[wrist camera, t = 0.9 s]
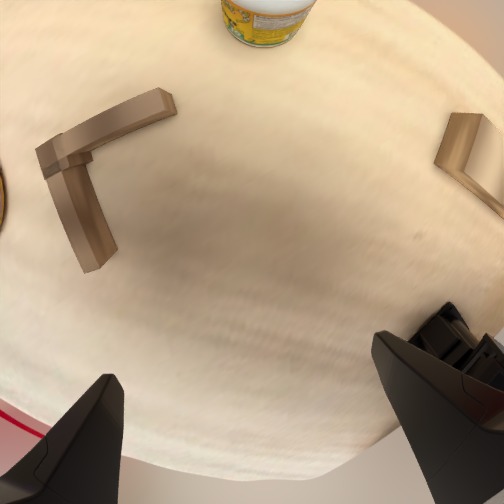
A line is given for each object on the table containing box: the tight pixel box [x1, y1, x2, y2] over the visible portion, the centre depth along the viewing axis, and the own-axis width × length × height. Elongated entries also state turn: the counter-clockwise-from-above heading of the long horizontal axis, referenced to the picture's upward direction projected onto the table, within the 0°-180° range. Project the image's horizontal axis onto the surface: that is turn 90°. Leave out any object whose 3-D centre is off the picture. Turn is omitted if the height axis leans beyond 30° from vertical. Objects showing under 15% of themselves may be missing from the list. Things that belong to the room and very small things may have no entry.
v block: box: [35, 87, 177, 274], centre depth 18 cm, size 8×13×4 cm, turn 151°
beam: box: [434, 113, 504, 219], centre depth 19 cm, size 12×5×4 cm, turn 69°
